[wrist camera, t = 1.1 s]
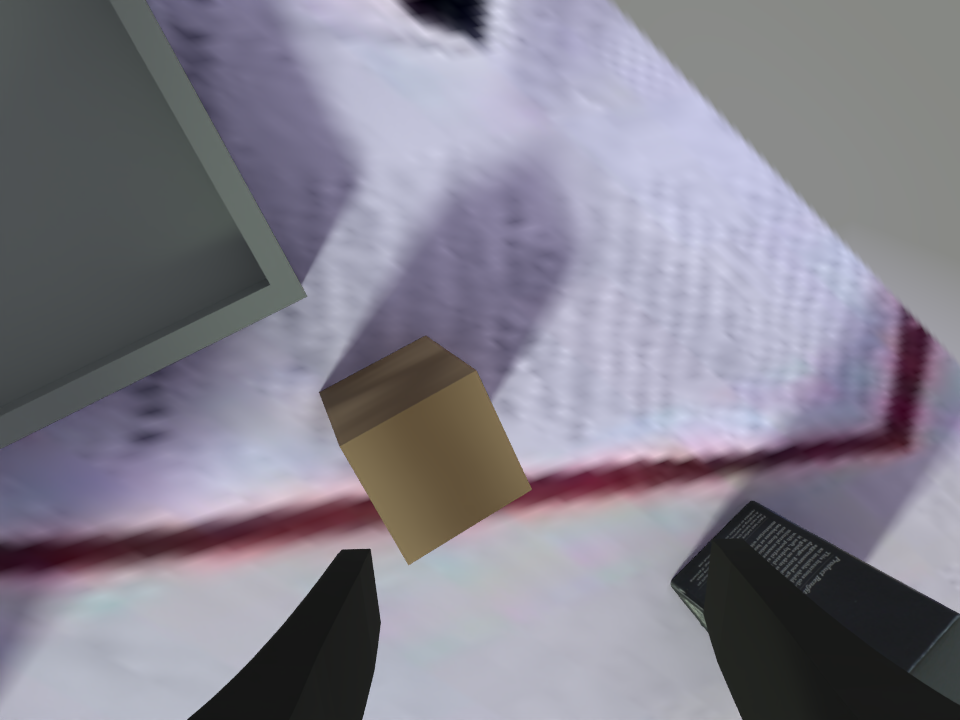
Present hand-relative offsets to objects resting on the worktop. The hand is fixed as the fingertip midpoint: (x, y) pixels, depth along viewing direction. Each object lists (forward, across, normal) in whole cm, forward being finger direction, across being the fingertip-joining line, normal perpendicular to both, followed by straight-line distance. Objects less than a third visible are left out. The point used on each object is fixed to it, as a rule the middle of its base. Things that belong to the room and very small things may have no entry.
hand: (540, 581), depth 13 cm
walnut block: (+11, +5, +2) cm, 12 cm away
